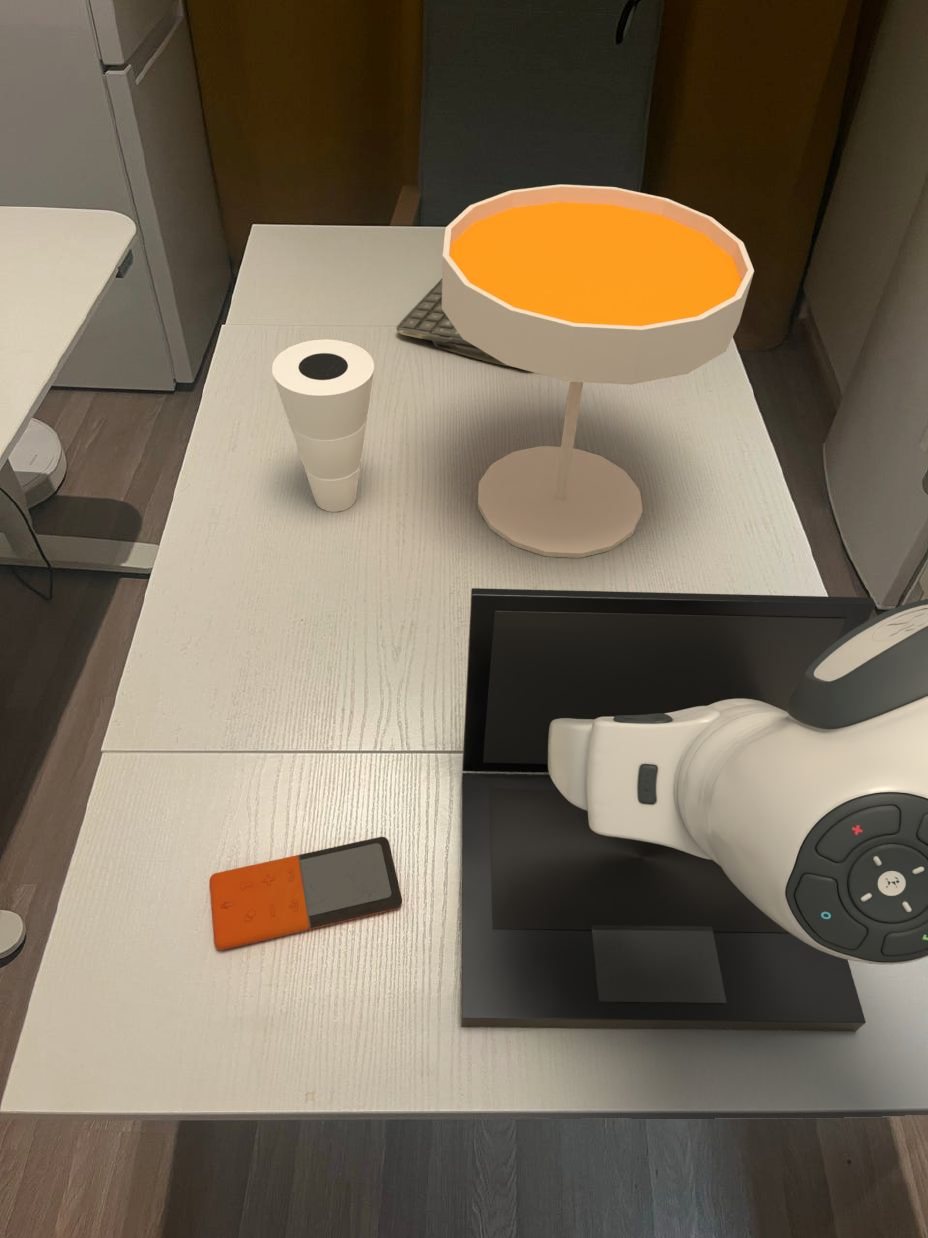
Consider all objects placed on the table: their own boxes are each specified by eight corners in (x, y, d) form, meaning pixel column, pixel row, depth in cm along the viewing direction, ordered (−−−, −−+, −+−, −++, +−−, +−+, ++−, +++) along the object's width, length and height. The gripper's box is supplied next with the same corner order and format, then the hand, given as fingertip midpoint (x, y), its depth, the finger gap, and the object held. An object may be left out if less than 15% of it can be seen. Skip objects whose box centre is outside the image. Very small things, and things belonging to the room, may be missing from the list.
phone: (207, 871, 73) (387, 832, 76) (210, 878, 74) (387, 839, 77) (213, 947, 69) (403, 903, 72) (216, 954, 70) (403, 910, 73)
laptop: (620, 283, 145) (632, 219, 137) (555, 383, 125) (564, 314, 117) (476, 250, 151) (479, 186, 143) (392, 339, 131) (390, 271, 123)
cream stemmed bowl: (523, 401, 122) (547, 161, 99) (722, 487, 111) (802, 239, 88) (386, 515, 105) (376, 257, 82) (605, 629, 94) (665, 369, 71)
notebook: (856, 1031, 68) (866, 1022, 66) (461, 1027, 67) (461, 1017, 65) (788, 790, 82) (795, 778, 80) (461, 784, 81) (462, 772, 79)
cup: (398, 493, 108) (394, 362, 95) (339, 541, 102) (327, 407, 89) (332, 459, 112) (319, 328, 99) (271, 503, 106) (250, 370, 93)
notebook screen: (876, 605, 66) (872, 597, 67) (471, 595, 65) (471, 587, 66) (795, 778, 80) (792, 770, 81) (462, 772, 79) (462, 764, 80)
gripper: (936, 729, 49) (827, 693, 63) (568, 720, 49) (540, 686, 63) (929, 841, 50) (822, 781, 64) (564, 834, 49) (537, 775, 63)
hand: (680, 734), depth 63 cm, fingers closed
